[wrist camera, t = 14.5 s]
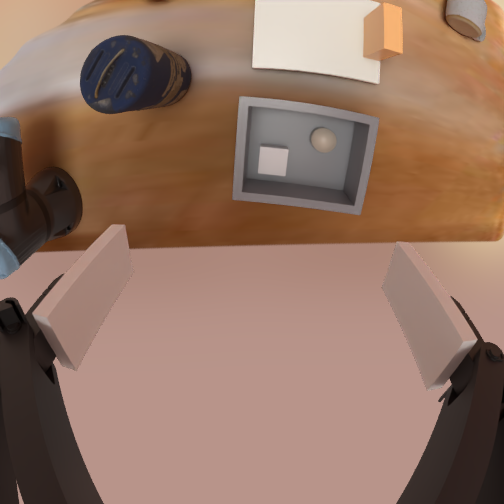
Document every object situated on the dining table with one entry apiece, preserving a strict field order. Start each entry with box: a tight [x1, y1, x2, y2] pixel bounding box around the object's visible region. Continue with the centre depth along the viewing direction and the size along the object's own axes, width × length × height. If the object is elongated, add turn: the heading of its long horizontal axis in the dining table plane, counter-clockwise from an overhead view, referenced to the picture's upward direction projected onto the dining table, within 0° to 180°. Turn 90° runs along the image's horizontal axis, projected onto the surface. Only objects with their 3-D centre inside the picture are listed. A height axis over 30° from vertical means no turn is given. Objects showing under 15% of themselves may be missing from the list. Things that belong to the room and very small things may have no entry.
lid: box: [252, 0, 402, 84], centre depth 26 cm, size 19×15×11 cm
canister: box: [80, 35, 191, 114], centre depth 29 cm, size 10×10×18 cm
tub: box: [232, 96, 379, 215], centre depth 37 cm, size 18×14×8 cm
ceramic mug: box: [446, 0, 487, 41], centre depth 21 cm, size 11×8×8 cm
